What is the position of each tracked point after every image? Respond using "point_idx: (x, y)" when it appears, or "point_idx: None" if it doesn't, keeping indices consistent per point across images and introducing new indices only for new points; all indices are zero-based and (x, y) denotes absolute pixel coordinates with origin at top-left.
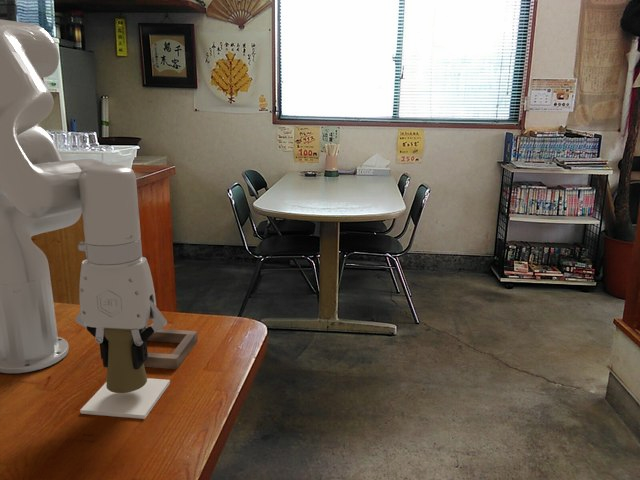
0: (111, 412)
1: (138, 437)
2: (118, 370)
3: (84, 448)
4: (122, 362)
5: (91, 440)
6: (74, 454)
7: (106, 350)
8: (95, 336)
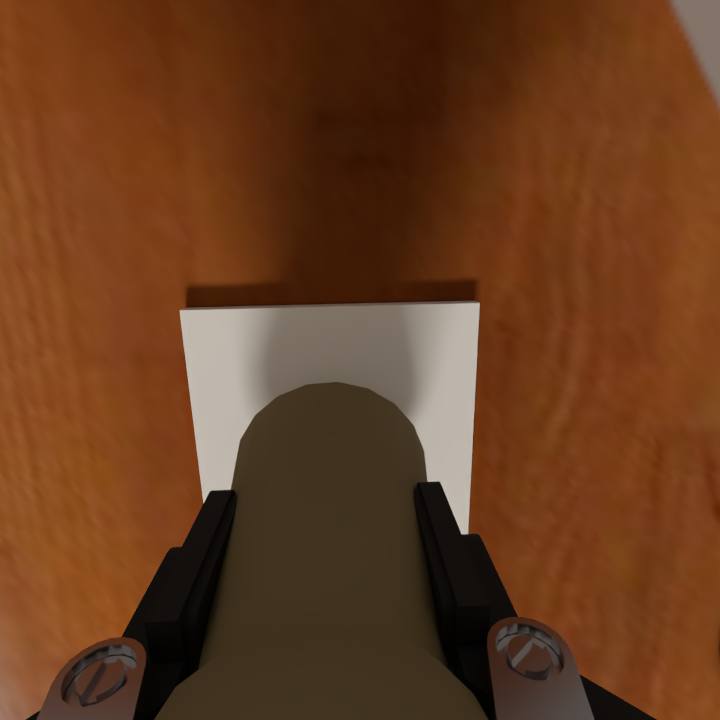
0: (335, 308)
1: (141, 177)
2: (317, 451)
3: (332, 61)
4: (283, 491)
5: (332, 123)
6: (352, 10)
7: (434, 567)
8: (580, 680)
